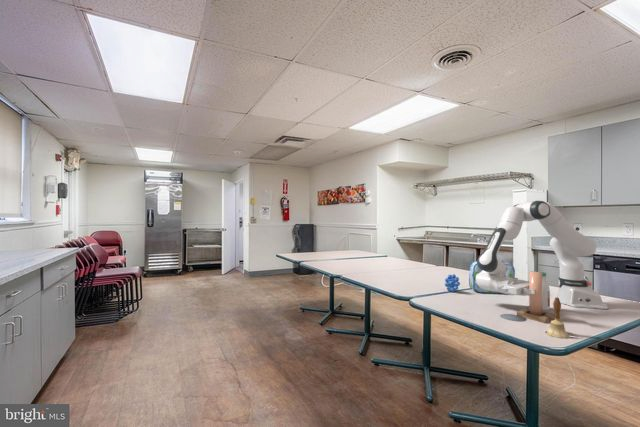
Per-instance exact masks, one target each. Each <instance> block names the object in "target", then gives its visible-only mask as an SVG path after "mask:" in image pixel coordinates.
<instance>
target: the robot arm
mask: <svg viewBox="0 0 640 427" xmlns="http://www.w3.org/2000/svg"><path fill="white" fill-rule="evenodd" d="M532 221H538V222H539V224H540V225H541V226H542V227H543V228H544V230H545V231H546V232H547V233H548V235H550V236H551V237H552V238H551V239H550V240H549V246H550V248H551V250H553V252H554V253H555V255H556V259H557V261H558V265H559V266H558V267H559V276H558V282H557V284H558V293H557V295H556V297H558V298H559V300H560V303H561V304H563V305H568V306H570V307H574V308H585V309H598V310H607V309H609V306H608V304H606V303H604V302H603V299H602V297H601V295H600V294H599V293H597V292H596V291H595V290H594V289H592V288H591V287H592V282H590V281H588V280H586V279H585V267H584V265H583V263H582V262H581V261H580V260H579V258H578V257H590V256H592V255H594V253H596V251H597V244H596V242H595V240H593V239H591V238H588V237H586V236H585V235H583V234H582V233H581V232H580V231H578V230H577V229H576V228H574V227H573V225H571V224H570V223H569V221H567V219H566V218H565V217H564V216H563V215H562V213H561V212H560V211H559V209H557V208H556V206H554V205H553V204H551V203H550V202H547V201H544V200H534V201H526V202H522V203H517V204H515V205H513V206H508V207H507V208H505V210H504V211H503V213H502V215H501V216H500V220H499V222H498V224H497V226H496V228H495V229H494V230H493V232H492V233H491V236H490V237H489V239H488V241H487V244H486V246H485V248H484V249H483V251H482V252H481V254H479V256H478V258H477V260H476V261H477V265H478V267H479V268H480V269H481V270H482V271H481V272H480V273H478V274H477V275H476V283H477V285H478V286H479V287H480V288H483V289H486V290H490V291H498V292H500V293H502V294H503V293H505V294H504V295H509V296H510V295H514V296H521V295H523V294H529V293H531V294H535V293H536V290H533V289H529V281H528V280H523V279H519V278H518V277H515V278H511V277H504V276H505V274H506V271H507V267H506V265H505V264H504V263H503V262H502V261H503V260H501V259H500V258H499V257H498V253H499V251H500V248H501V247H502V244H503V242H505V241H512V240H515V239H517V237H518V236H519V234H520V233H521V230H522V227H523V223H524V222H532ZM590 286H591V287H590ZM500 293H499V294H500Z"/></svg>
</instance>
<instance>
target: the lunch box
mask: <svg viewBox="0 0 640 427" xmlns="http://www.w3.org/2000/svg"><path fill="white" fill-rule="evenodd" d="M501 261H502V262H503V263H504V264H505V265H506V267H507V271H506V274H505V276H504V277H511V278H516V270H515V267H514V266H513V265H512V264H510V263H507V262H504V261H503V260H501ZM481 271H482V270H481V269H480V268H479V267H478V265H477V260H473V261H471V263H470V266H469V273H468V274H469V277H468V285H469V288H471V290H473V291H475V292H477V293H481V294H482V293H483V294H484V293H485V294H504V295H506V294H505V293H500V292H498V291H490V290H486V289H483V288H480V287H479V286H478V285H477V283H476V275H477V274H478V273H480V272H481Z"/></svg>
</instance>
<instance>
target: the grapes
mask: <svg viewBox="0 0 640 427" xmlns="http://www.w3.org/2000/svg"><path fill="white" fill-rule="evenodd" d="M444 282H445V283H444V286H445V287H446V290H447V291H448V292H449V291H450V292H451V293H454V292H455V291H458V290H459V286H460V285H461V282H460V278H459V277H458V276H456V274H455V273H453V274H448V275H447V277H446V278H445V279H444Z"/></svg>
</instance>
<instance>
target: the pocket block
mask: <svg viewBox="0 0 640 427" xmlns="http://www.w3.org/2000/svg"><path fill="white" fill-rule="evenodd" d="M516 315H517V316H519V317H523V318H526V319H527V320H530V321H535V322H539V323H543V324H547V323H549V322H551V321H553V320H555V313H552V312H548V311H545V310H542V316H538V315H534V314H529V307H526V308H523V309H521V310H519V311H517V312H516Z"/></svg>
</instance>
